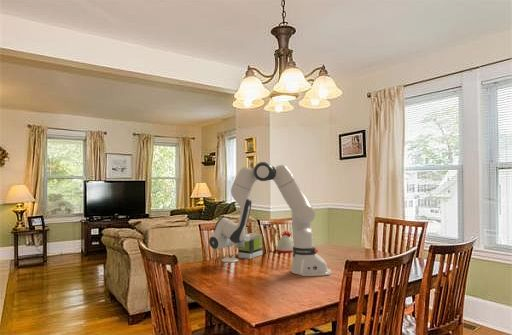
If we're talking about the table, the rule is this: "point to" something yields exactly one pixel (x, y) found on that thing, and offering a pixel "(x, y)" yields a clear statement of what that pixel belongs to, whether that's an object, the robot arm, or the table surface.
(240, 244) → the french press
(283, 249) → the kitchen timer
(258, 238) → the tea box
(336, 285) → the table surface
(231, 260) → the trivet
